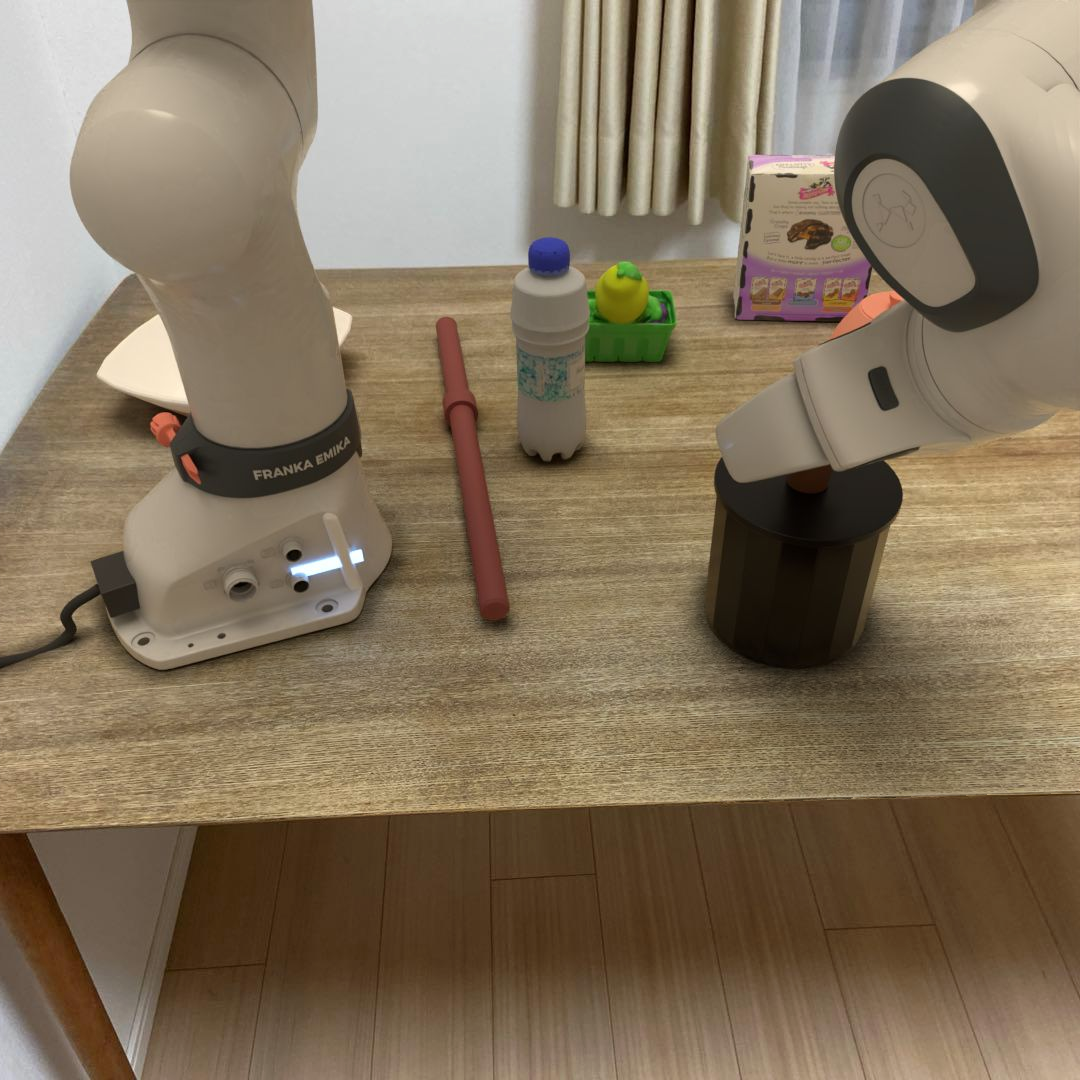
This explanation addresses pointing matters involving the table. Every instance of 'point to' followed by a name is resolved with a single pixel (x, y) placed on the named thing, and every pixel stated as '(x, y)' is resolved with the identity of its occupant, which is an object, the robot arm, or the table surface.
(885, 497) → the lid
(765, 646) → the faceted dark cup
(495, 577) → the red brown collared rod
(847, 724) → the table surface
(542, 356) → the bottle
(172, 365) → the bowl
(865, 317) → the sugar bowl
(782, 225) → the candy box
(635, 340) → the fruit basket
